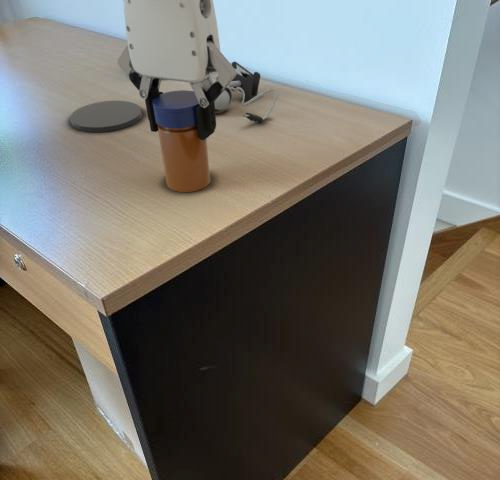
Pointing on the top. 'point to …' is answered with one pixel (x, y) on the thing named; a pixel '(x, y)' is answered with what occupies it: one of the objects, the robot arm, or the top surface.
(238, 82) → the clip-on lamp
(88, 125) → the coaster
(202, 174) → the jar
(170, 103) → the jar lid
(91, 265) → the top surface
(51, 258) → the top surface
